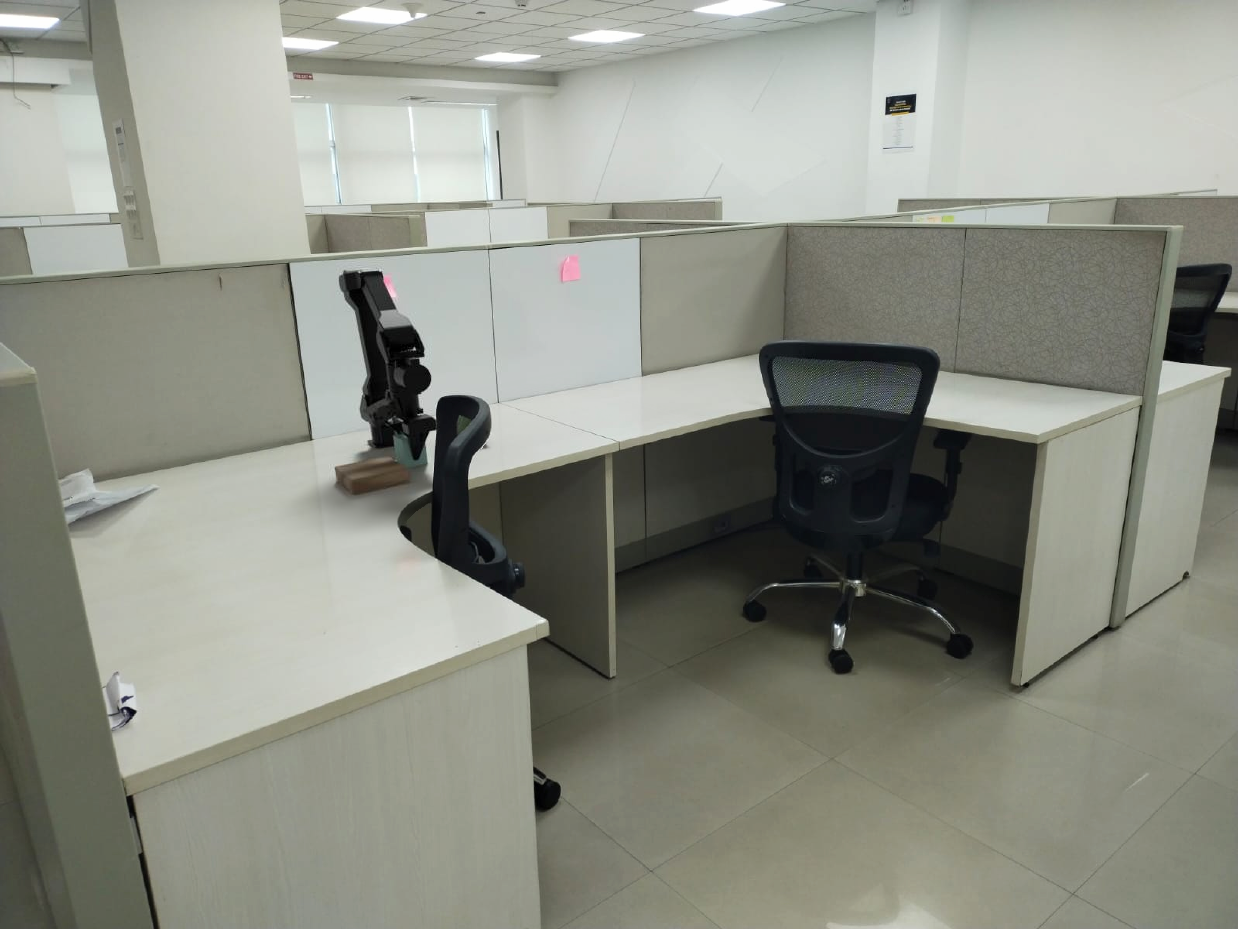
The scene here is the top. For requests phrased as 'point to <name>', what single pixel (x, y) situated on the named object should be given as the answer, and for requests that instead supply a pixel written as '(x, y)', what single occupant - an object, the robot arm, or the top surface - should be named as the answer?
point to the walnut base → (371, 475)
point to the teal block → (407, 452)
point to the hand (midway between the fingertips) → (411, 457)
